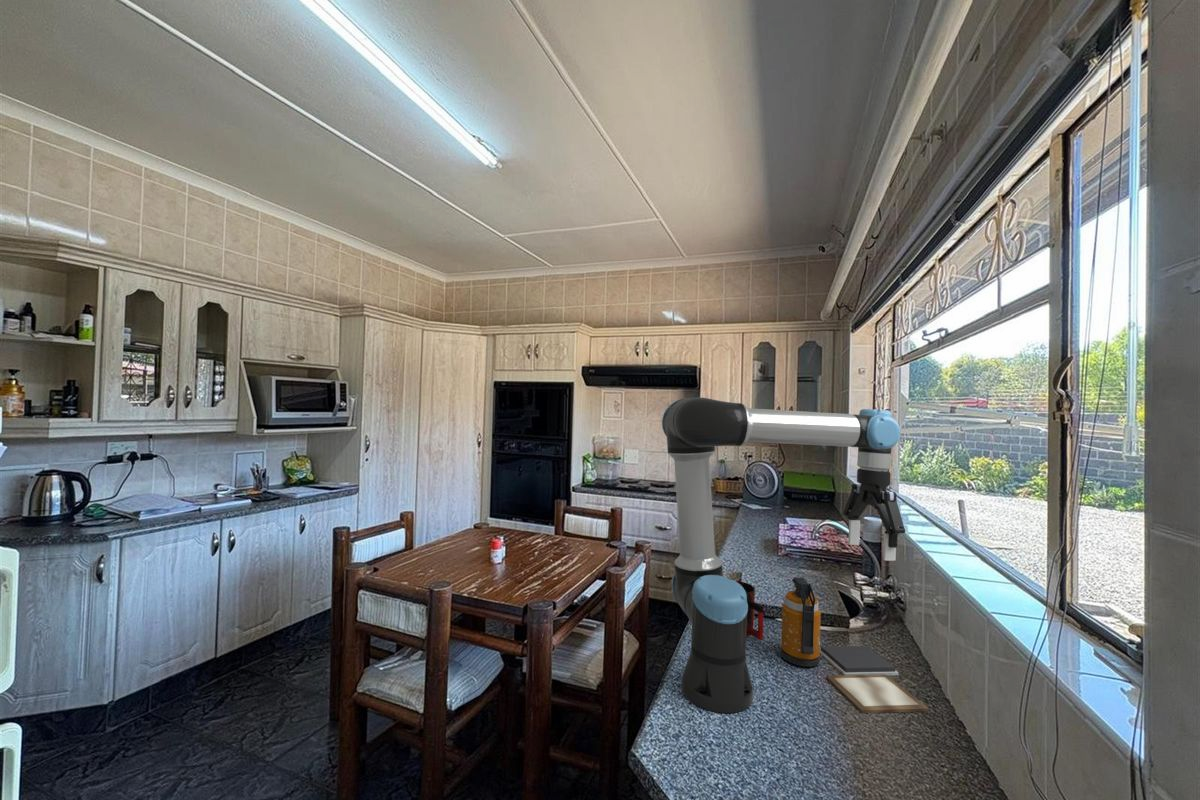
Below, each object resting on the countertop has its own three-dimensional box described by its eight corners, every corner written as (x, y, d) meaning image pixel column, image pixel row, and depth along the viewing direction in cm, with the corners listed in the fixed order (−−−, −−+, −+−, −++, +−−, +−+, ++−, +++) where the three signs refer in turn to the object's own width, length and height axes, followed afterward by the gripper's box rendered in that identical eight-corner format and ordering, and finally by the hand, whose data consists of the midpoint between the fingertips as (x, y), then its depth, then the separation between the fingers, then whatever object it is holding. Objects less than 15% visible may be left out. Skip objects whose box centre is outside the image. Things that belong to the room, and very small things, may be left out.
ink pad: (845, 676, 113) (845, 669, 113) (817, 651, 125) (818, 645, 125) (898, 675, 114) (898, 668, 114) (866, 651, 126) (867, 644, 126)
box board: (862, 713, 99) (862, 709, 99) (826, 678, 112) (826, 675, 112) (929, 711, 100) (929, 708, 100) (885, 677, 113) (885, 674, 113)
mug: (761, 645, 127) (763, 599, 127) (713, 629, 136) (714, 586, 136) (773, 632, 135) (774, 589, 135) (726, 618, 143) (727, 578, 144)
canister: (812, 652, 124) (814, 574, 125) (828, 675, 113) (830, 590, 114) (776, 649, 125) (778, 572, 126) (789, 672, 114) (791, 587, 115)
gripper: (924, 476, 111) (921, 568, 111) (856, 464, 136) (853, 539, 136) (894, 474, 111) (891, 567, 110) (831, 463, 135) (828, 538, 135)
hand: (870, 552), depth 123 cm, fingers open, 13 cm apart
